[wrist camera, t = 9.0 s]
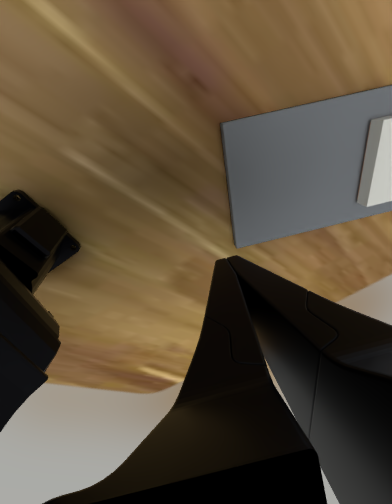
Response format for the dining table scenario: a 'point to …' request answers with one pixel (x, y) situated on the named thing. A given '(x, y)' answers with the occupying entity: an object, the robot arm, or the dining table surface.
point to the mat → (300, 166)
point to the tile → (377, 164)
